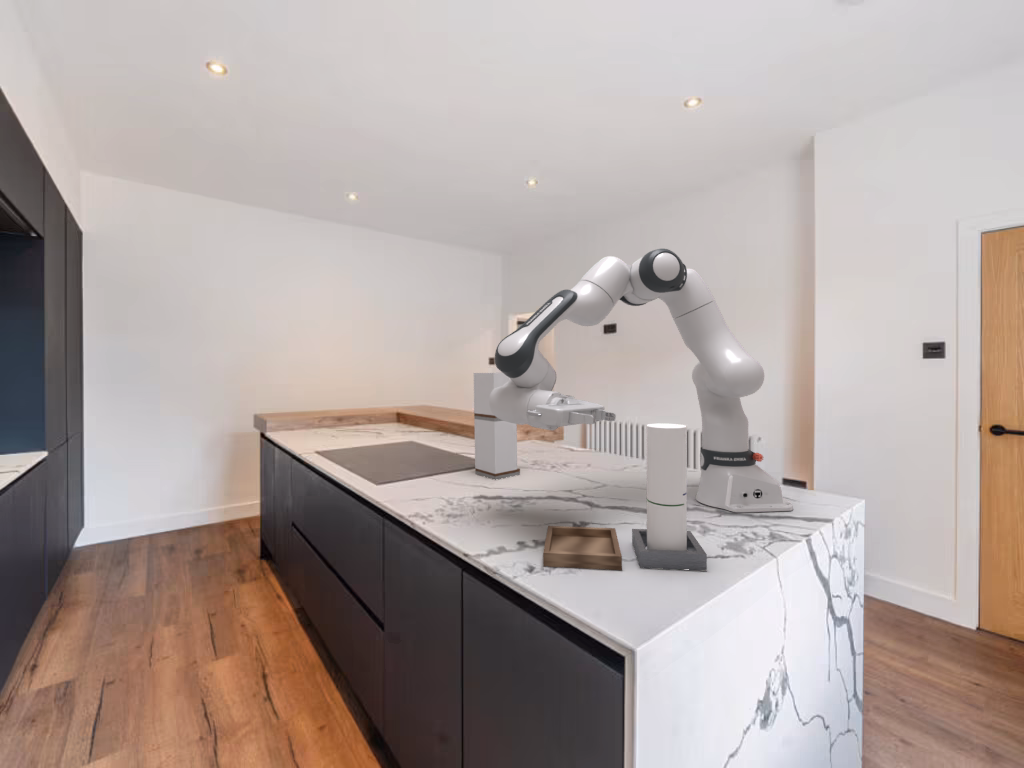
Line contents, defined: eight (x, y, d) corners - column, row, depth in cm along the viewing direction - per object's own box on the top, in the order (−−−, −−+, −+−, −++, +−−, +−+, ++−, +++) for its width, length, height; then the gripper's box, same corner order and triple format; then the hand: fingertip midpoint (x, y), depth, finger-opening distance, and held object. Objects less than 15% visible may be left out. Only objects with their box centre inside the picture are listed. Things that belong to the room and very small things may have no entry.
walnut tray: (615, 540, 92) (615, 528, 92) (621, 570, 79) (621, 556, 79) (548, 537, 95) (548, 525, 94) (543, 566, 81) (543, 552, 81)
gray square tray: (690, 545, 89) (690, 530, 89) (706, 571, 78) (706, 554, 78) (632, 543, 91) (632, 528, 91) (640, 568, 79) (639, 551, 79)
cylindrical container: (692, 555, 85) (692, 425, 84) (678, 568, 79) (677, 429, 78) (656, 545, 89) (656, 422, 88) (640, 557, 84) (639, 426, 83)
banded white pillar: (520, 474, 151) (518, 372, 150) (495, 480, 144) (493, 372, 143) (499, 469, 160) (497, 372, 159) (475, 474, 153) (473, 373, 152)
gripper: (522, 397, 92) (581, 405, 84) (572, 395, 108) (625, 402, 100) (520, 427, 93) (578, 438, 84) (570, 421, 109) (623, 429, 100)
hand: (604, 418), depth 92 cm, fingers open, 8 cm apart
